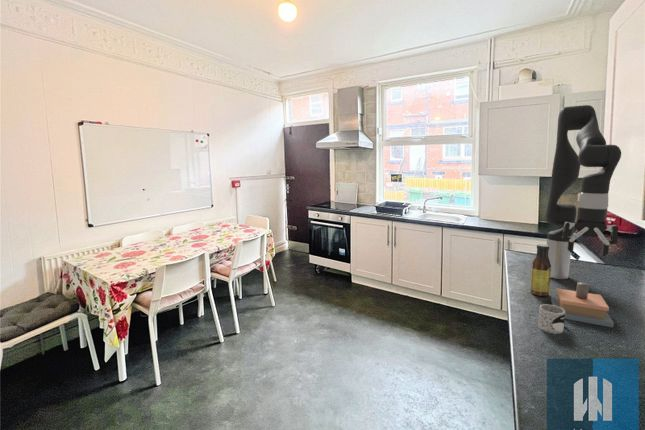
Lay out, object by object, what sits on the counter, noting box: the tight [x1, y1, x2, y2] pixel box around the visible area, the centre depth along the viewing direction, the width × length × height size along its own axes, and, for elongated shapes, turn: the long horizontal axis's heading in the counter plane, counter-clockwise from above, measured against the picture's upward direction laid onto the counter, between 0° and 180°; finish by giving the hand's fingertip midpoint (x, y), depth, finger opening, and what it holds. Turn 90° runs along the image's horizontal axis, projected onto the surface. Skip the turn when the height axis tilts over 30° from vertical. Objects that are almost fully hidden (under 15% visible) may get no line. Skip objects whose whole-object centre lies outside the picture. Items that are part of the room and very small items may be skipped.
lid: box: [556, 281, 610, 312], centre depth 112 cm, size 12×12×6 cm
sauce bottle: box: [530, 243, 551, 297], centre depth 128 cm, size 7×6×20 cm
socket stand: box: [550, 296, 615, 328], centre depth 113 cm, size 15×15×4 cm
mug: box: [537, 304, 566, 335], centre depth 104 cm, size 10×7×7 cm
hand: (586, 253), depth 110 cm, fingers open, 8 cm apart
